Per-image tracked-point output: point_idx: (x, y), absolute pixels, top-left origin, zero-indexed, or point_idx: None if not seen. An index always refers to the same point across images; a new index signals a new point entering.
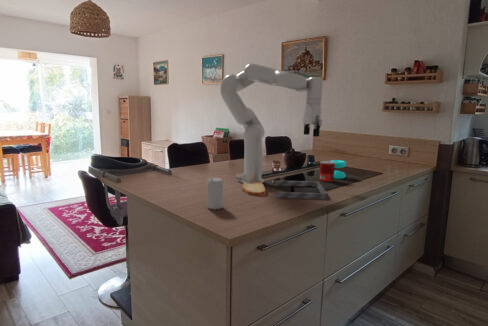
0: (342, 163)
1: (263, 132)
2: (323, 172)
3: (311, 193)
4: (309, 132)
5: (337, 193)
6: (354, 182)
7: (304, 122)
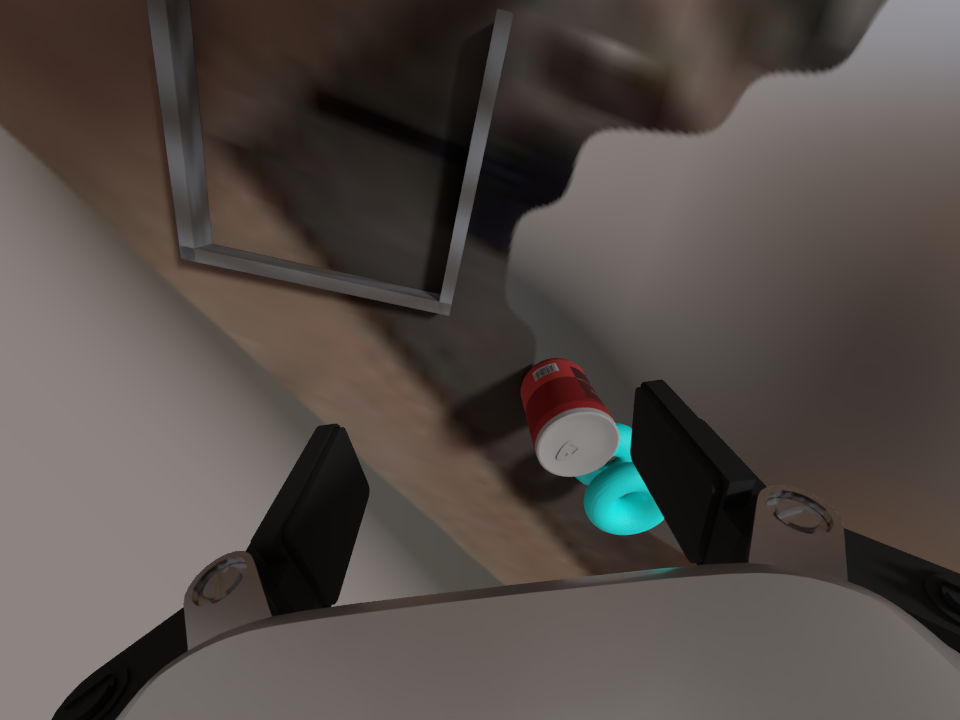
0: (589, 511)
1: None
2: (544, 386)
3: (169, 168)
4: (643, 480)
5: (316, 341)
6: (501, 474)
7: (743, 589)
